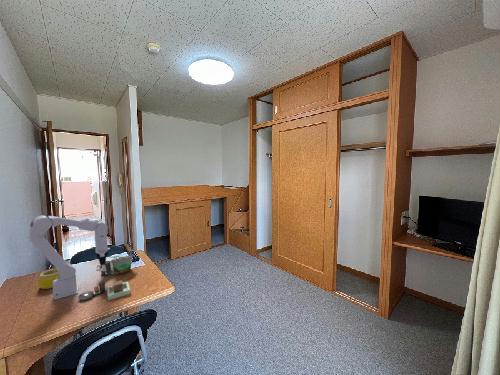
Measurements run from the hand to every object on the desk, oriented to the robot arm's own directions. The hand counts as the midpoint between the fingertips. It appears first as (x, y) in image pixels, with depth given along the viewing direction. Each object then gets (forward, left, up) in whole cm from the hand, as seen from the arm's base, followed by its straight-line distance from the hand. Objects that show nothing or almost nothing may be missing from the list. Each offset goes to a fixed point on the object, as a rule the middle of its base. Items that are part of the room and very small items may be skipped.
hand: (102, 264), depth 127 cm
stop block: (+6, -20, -10) cm, 23 cm away
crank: (-5, -15, -10) cm, 19 cm away
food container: (+11, +4, -10) cm, 15 cm away
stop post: (-4, -13, -10) cm, 16 cm away
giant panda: (+2, +8, -10) cm, 13 cm away
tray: (+6, -20, -10) cm, 23 cm away
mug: (-24, +11, -10) cm, 28 cm away
